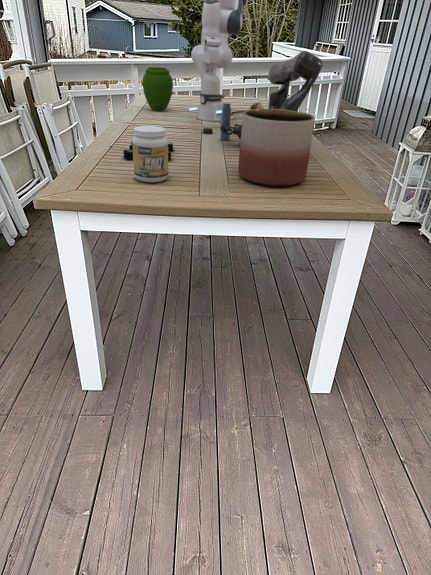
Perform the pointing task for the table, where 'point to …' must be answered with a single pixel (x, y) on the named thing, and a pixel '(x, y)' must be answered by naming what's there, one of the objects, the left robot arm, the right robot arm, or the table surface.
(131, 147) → the black printed glove
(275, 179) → the planter
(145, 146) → the supplement tub
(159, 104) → the vase
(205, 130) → the lid
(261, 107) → the seashell
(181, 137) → the table surface
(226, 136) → the dark grey cylinder
